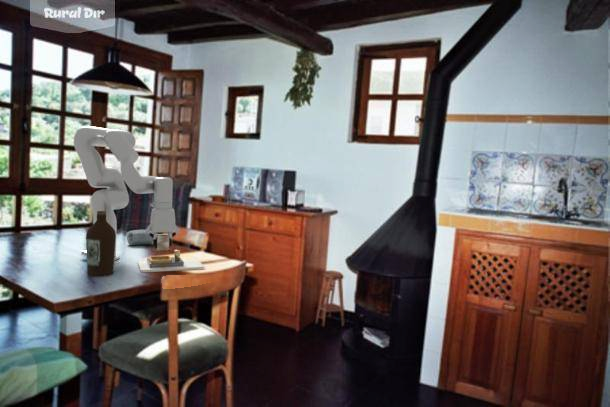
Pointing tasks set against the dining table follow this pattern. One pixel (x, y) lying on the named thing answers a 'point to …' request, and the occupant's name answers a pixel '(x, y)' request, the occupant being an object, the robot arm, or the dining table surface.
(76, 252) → the dining table surface
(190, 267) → the index board
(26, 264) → the dining table surface
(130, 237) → the rolled grey towel
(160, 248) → the link block
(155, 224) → the robot arm
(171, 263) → the carriage
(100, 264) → the olive oil
